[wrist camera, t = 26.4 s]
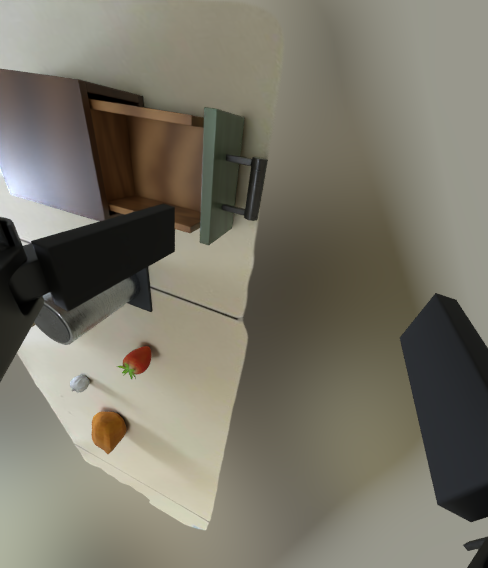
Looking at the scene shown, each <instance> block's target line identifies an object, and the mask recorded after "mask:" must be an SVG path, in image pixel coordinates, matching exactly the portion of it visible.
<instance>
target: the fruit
mask: <svg viewBox="0 0 488 568" xmlns="http://www.w3.org/2000/svg"><path fill="white" fill-rule="evenodd" d="M150 361H151V349H150V348H149V347H148V346H144V347H140V348H138V349H135V350H133V351H132V352H130V353H129V354H128V355H127V356H126V357H125V358H124V360H123V366H117V367H120V368H123V369H125V370H124V371H123V372H122V373H125V374H126V373H127V372H129V375H130V377H131V379H132V374H133V375H134V374H141V373H143V372H144V371H145V370H146V369H147V368H148V367H149V365H150ZM125 374H124V375H125ZM124 375H123V376H124ZM134 377H135V375H134ZM135 379H136V378H135Z"/></svg>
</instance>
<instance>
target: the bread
mask: <svg viewBox="0 0 488 568" xmlns="http://www.w3.org/2000/svg"><path fill="white" fill-rule="evenodd" d="M126 430H127V429H126V425H125V422H124V420H123V418H122V417H120V416H119V415H118V414H117V413H115V412H99V413H97V414H96V415H95V416H94V417H93V420H92V440H93V442H94V444H95V445H96V446H98V447H99V448H101V449H103V450H104V451H105V452H106V453H107V454H109V453H110V452H111V451H112V450H113V449H114V448H115V447H116V445H117V444H118V443H119V442H120V441H121V439H122V438H123V437H124V435H125V434H126Z"/></svg>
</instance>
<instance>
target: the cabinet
mask: <svg viewBox="0 0 488 568" xmlns="http://www.w3.org/2000/svg"><path fill="white" fill-rule="evenodd" d="M88 99H93V100H99V101H105V102H112V103H118V104H124V105H131V106H137V107H143V108H144V106H143V96H141V95H137V94H133V93H129V92H125V91H121V90H117V89H113V88H110V87H106V86H102V85H98V84H94V83H90V82H86V81H82V80H78V79H72V78H64V77H57V76H50V75H42V74H35V73H28V72H21V71H13V70H6V69H0V169H1V172H2V174H3V177H4V179H5V182H6V184H7V187H8V189H9V192H10V194H11V195H14V196H17V197H20V198H24V199H27V200H30V201H34V202H37V203H40V204H44V205H47V206H50V207H54V208H57V209H60V210H64V211H67V212H70V213H74V214H77V215H80V216H83V217H87V218H90V219H93V220H97V221H104V220H107V219H111V218H114V217H118V216H121V215H124V214H121V213H117V212H114V211H110V210H109V209H108V203H107V198H106V192H105V187H104V182H103V176H102V171H101V165H100V160H99V154H98V149H97V143H96V138H95V132H94V127H93V121H92V116H91V110H90V105H89V100H88Z"/></svg>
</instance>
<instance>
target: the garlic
mask: <svg viewBox="0 0 488 568" xmlns="http://www.w3.org/2000/svg"><path fill="white" fill-rule="evenodd" d="M88 385H89V379H88V378H87V377H85V376H83V375H79V376H76V377H74V378H73V379H72V380H71V382H70V387H71V388H72V391H76V392H83V391H84V390H86V389H87V387H88Z"/></svg>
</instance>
